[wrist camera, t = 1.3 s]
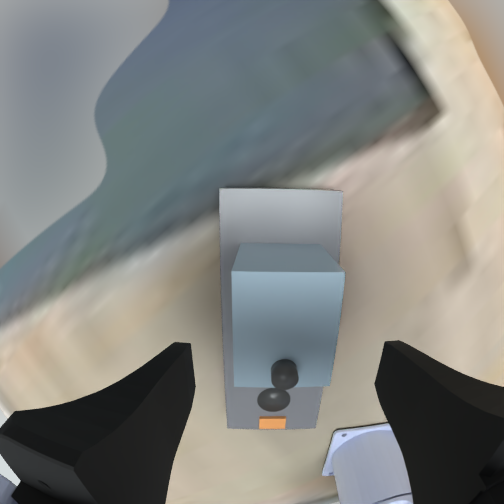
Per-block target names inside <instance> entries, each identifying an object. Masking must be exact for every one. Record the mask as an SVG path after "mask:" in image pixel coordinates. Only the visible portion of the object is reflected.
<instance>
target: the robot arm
mask: <svg viewBox="0 0 504 504" xmlns="http://www.w3.org/2000/svg"><path fill="white" fill-rule="evenodd" d="M195 387H196V386H195V378H194V369H193V360H192V351H191V343H179V342H174V343H173V344H171V345H170V346H169V347H167V348H166V349H165V350H163V351H162V352H161V353H159V354H158V355H157V356H155V357H154V358H153V359H151V360H150V361H149V362H147V363H146V364H145V365H143V366H142V367H140V368H139V369H137V370H136V371H134V372H133V373H131V374H129V375H128V376H126V377H125V378H123V379H121V380H120V381H118V382H116V383H114V384H112V385H110V386H108V387H106V388H104V389H102V390H100V391H98V392H96V393H93V394H90V395H88V396H85V397H82V398H80V399H77V400H74V401H71V402H67V403H64V404H60V405H55V406H51V407H46V408H40V409H32V410H23V411H15V412H14V413H13V414H12V415H11V416H10V417H9V418H8V419H7V421H6V422H5V423H4V424H3V425H2V426H1V428H0V454H1V456H2V457H3V459H4V460H5V461H6V463H7V464H8V465H9V466H10V468H11V469H12V470H13V472H14V473H15V474H16V475H17V477H18V478H19V479H20V480H21V481H20V483H19V485H18V486H16V485H15V484H13V483H12V482H11V481H10V480H8V479H7V478H5V477H4V476H2V475H1V474H0V504H165V502H166V496H167V491H168V485H169V480H170V475H171V470H172V465H173V461H174V458H175V454H176V451H177V448H178V445H179V443H180V440H181V437H182V434H183V431H184V428H185V426H186V423H187V420H188V417H189V414H190V411H191V408H192V403H193V398H194V393H195ZM375 388H376V391H377V395H378V398H379V402H380V405H381V407H382V409H383V412H384V414H385V416H386V418H387V420H388V423H387V424H381V425H374V426H367V427H360V428H352V429H342V430H337V431H335V432H334V433H333V437H332V441H331V444H330V448H329V451H328V454H327V458H326V461H325V464H324V467H323V470H322V475H323V476H331V475H334V476H335V481H336V486H337V491H338V496H339V501H340V504H504V387H501V386H497V385H494V384H490V383H486V382H483V381H480V380H478V379H475V378H472V377H470V376H467V375H465V374H462V373H460V372H458V371H456V370H454V369H452V368H450V367H448V366H446V365H444V364H442V363H440V362H438V361H436V360H435V359H433V358H431V357H429V356H427V355H426V354H424V353H422V352H420V351H419V350H417V349H415V348H413V347H411V346H410V345H408V344H406V343H404V342H401V341H399V340H397V341H386V342H385V343H384V348H383V352H382V356H381V360H380V364H379V368H378V372H377V376H376V380H375ZM344 433H345V434H344Z"/></svg>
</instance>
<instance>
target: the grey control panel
mask: <svg viewBox="0 0 504 504" xmlns="http://www.w3.org/2000/svg"><path fill="white" fill-rule="evenodd" d="M342 202H343V191H337V190H325V189H299V188H220V189H219V205H220V272H221V307H222V335H223V358H224V378H225V396H226V413H227V428H232V429H308V428H316V423H317V418H318V413H319V407H320V402H321V397H322V391H323V386H318V387H293V388H291V389H288V390H280V389H277V388H264V387H234V367H233V329H232V273H231V271H232V268H233V265H234V262H235V259H236V256H237V253H238V250H239V247H240V244H241V243H280V244H321V245H322V246H323V248H324V249H325V250H326V251H327V252H328V253H329V254H330V255H331V256H332V258H333V259H334V260H335V261H336V262H337V263H338V264H339V255H340V241H341V224H342Z"/></svg>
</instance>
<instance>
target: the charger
mask: <svg viewBox="0 0 504 504" xmlns="http://www.w3.org/2000/svg"><path fill="white" fill-rule="evenodd" d="M231 273H232V329H233V367H234V387H264V388H277V389H280V390H288V389H291V388H293V387H318V386H330V381H331V375H332V370H333V364H334V358H335V352H336V345H337V338H338V331H339V324H340V316H341V308H342V300H343V291H344V282H345V271H344V270H343V269H342V268H341V267H340V266H339V264H338V263H337V262H336V261H335V260H334V259H333V258H332V256H331V255H330V254H329V253H328V252H327V251H326V250H325V249H324V248H323V246H322V245H321V244H280V243H241V244H240V247H239V250H238V253H237V256H236V259H235V262H234V265H233V268H232V271H231Z"/></svg>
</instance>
